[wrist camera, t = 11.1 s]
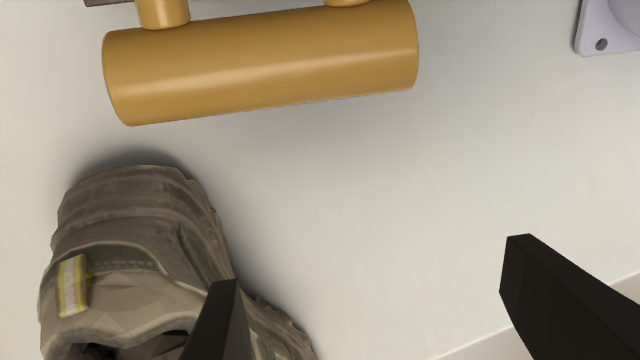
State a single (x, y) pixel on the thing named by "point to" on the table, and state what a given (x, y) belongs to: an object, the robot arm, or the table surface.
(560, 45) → the table surface
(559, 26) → the table surface
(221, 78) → the picture frame
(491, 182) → the table surface
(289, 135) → the table surface
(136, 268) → the hiking shoe
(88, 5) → the frame stand
